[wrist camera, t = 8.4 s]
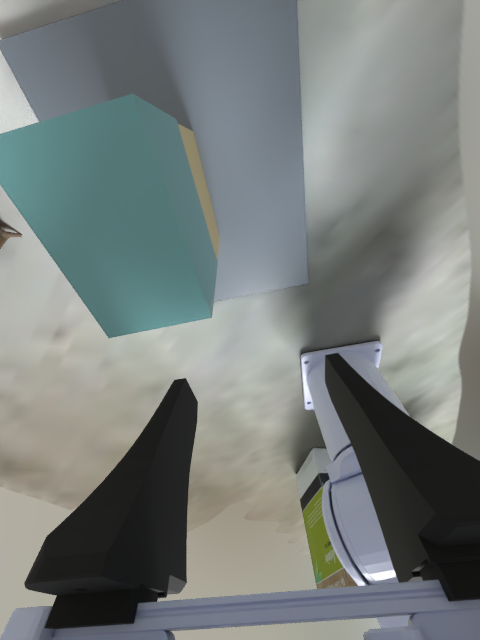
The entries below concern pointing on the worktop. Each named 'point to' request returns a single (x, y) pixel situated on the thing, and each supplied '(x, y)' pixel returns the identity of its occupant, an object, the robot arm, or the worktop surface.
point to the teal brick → (116, 212)
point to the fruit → (7, 236)
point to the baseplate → (197, 110)
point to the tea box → (319, 522)
